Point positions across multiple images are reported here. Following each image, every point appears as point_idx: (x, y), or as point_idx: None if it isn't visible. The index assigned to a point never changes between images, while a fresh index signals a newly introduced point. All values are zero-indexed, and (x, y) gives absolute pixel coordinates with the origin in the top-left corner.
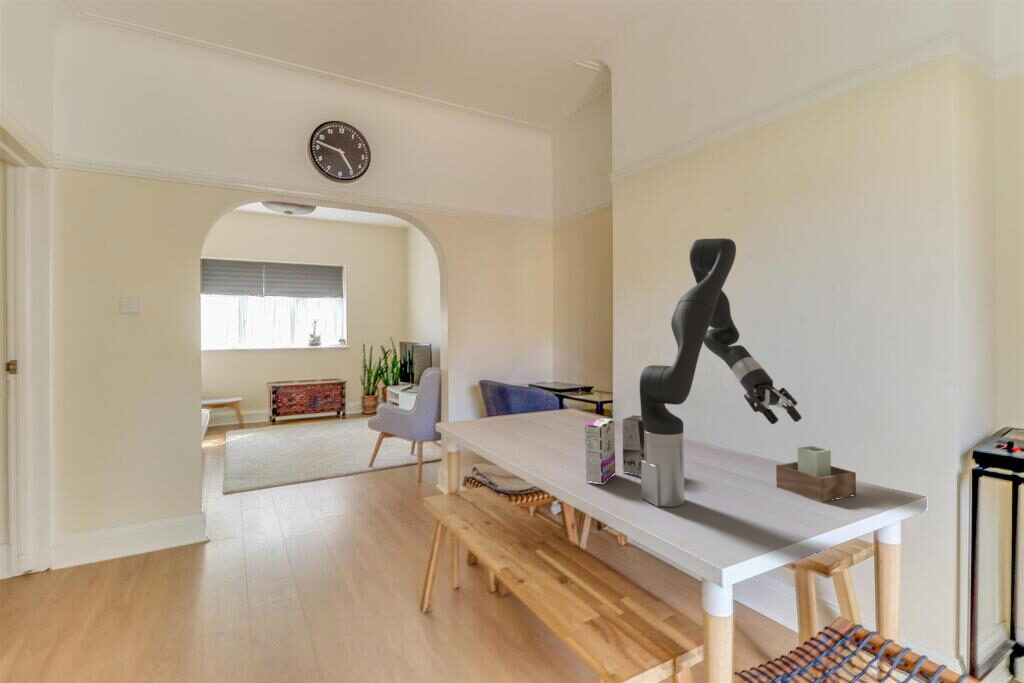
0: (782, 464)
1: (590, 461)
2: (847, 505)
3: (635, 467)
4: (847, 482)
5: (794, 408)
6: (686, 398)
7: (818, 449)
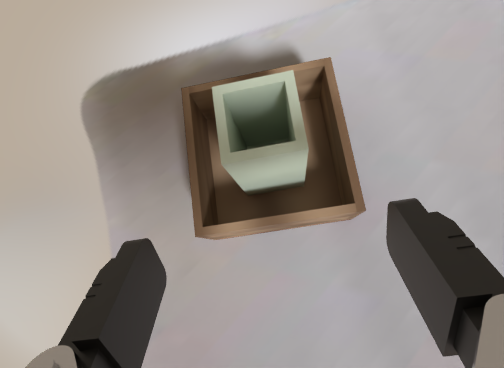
0: (337, 210)
1: None
2: None
3: None
4: None
5: (87, 317)
6: None
7: (227, 128)
